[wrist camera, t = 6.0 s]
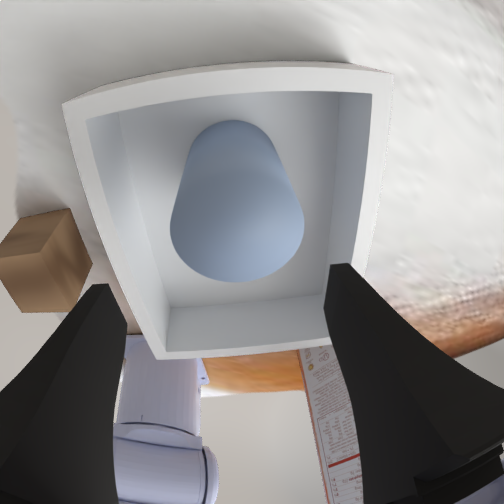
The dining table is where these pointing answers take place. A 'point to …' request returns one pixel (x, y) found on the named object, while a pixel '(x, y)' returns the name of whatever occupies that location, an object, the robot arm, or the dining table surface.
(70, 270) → the walnut cube
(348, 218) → the tote
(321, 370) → the cracker box
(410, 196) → the dining table surface
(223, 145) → the blue cylinder
